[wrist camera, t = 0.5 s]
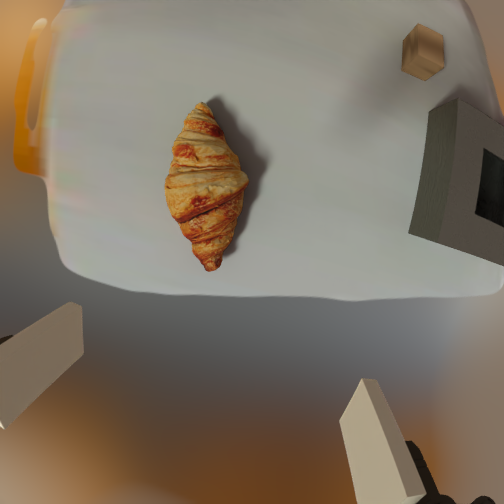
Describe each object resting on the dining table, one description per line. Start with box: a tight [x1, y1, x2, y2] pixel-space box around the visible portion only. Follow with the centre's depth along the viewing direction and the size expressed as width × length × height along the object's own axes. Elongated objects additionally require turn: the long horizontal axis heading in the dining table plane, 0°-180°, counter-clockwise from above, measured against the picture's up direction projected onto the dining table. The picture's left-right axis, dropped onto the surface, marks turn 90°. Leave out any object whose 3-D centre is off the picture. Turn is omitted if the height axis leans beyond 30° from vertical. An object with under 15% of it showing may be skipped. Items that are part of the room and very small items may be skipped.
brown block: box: [401, 23, 444, 81], centre depth 27 cm, size 6×4×6 cm, turn 168°
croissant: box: [165, 102, 249, 272], centre depth 34 cm, size 21×10×8 cm, turn 6°
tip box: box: [408, 98, 504, 266], centre depth 29 cm, size 18×16×8 cm
